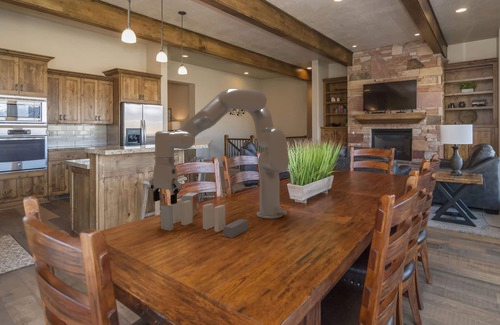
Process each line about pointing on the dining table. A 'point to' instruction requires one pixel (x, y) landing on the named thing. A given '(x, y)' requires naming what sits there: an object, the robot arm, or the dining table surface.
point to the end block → (235, 228)
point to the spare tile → (166, 217)
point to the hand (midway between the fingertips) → (165, 202)
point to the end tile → (177, 211)
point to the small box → (195, 202)
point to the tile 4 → (208, 216)
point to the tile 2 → (186, 212)
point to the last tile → (219, 218)
